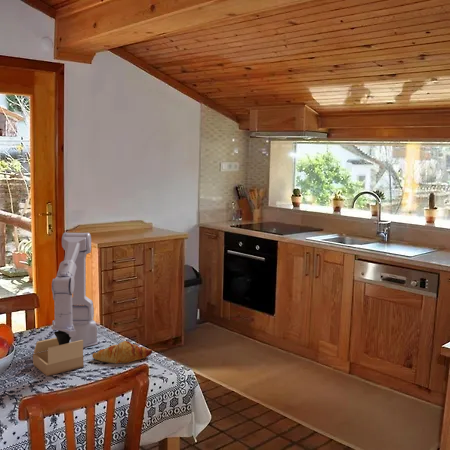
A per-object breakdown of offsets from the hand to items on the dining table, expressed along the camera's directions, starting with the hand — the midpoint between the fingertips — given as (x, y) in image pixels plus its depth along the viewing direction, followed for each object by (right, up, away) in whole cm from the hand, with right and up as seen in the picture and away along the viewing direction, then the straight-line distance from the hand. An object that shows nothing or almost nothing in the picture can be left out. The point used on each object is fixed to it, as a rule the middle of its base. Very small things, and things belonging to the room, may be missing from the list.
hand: (64, 351), depth 183 cm
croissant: (+17, -6, +13) cm, 23 cm away
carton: (-4, -6, +6) cm, 9 cm away
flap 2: (0, 0, 0) cm, 0 cm away
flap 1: (-6, +1, +8) cm, 10 cm away
